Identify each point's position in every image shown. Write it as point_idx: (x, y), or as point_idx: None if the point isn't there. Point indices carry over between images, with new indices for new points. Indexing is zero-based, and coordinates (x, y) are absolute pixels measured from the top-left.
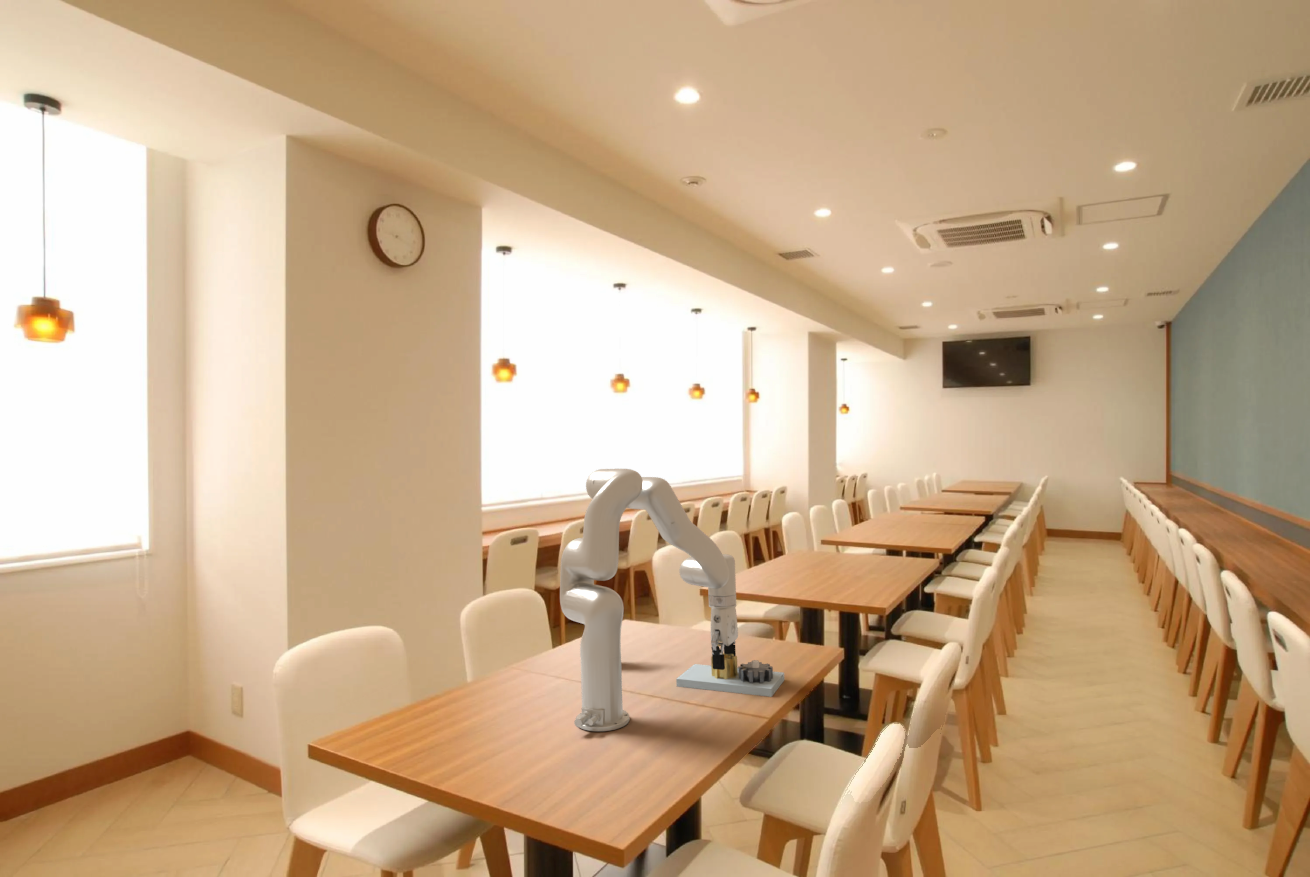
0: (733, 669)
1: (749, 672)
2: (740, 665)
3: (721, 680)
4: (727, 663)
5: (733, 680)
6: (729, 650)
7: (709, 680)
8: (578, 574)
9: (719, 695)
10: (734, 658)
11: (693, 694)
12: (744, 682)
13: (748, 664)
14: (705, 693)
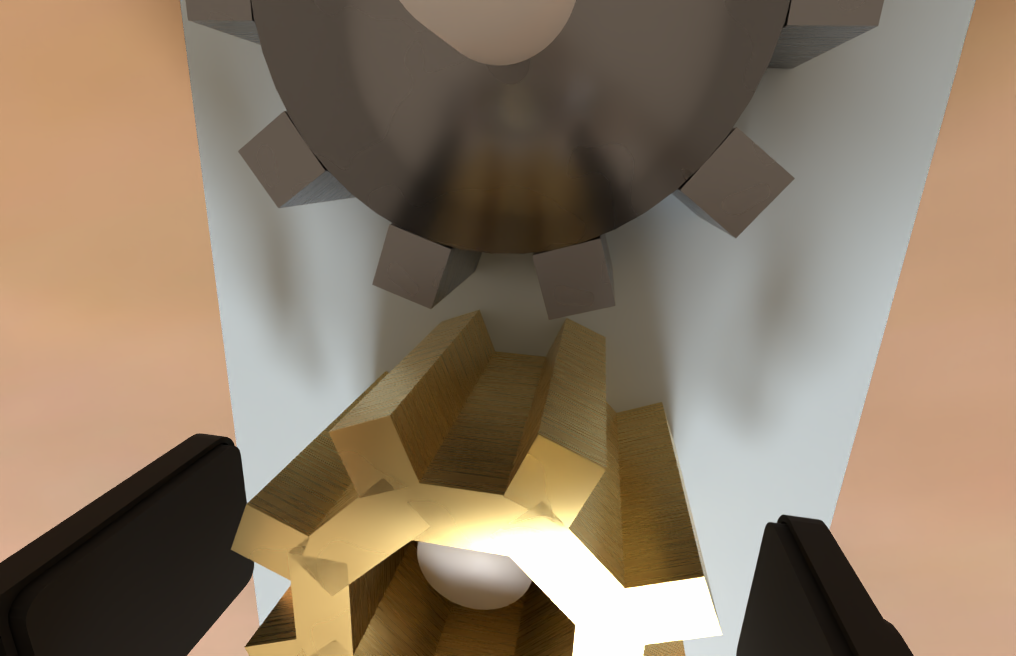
0: (598, 377)
1: (873, 13)
2: (435, 302)
3: (725, 459)
4: (612, 516)
5: (699, 319)
6: (145, 605)
7: (743, 580)
8: None
9: (964, 396)
10: (421, 447)
11: (945, 633)
12: (766, 150)
13: (391, 165)
14: (903, 537)
